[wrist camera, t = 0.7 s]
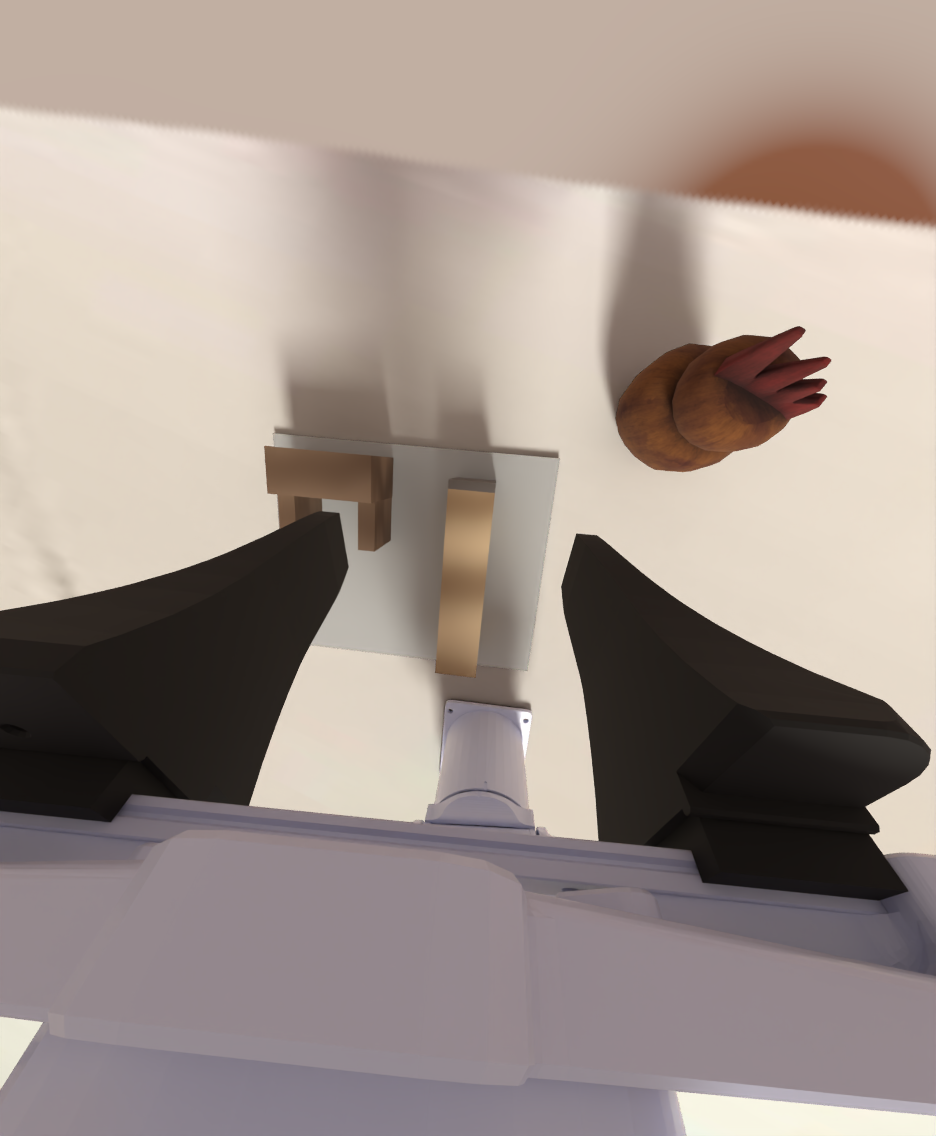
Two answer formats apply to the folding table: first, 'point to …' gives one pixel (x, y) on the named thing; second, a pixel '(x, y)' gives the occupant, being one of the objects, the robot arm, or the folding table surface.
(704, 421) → the wooden figurine
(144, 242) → the folding table surface
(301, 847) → the robot arm
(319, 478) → the bracket
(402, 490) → the mat
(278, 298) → the folding table surface
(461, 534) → the rail
